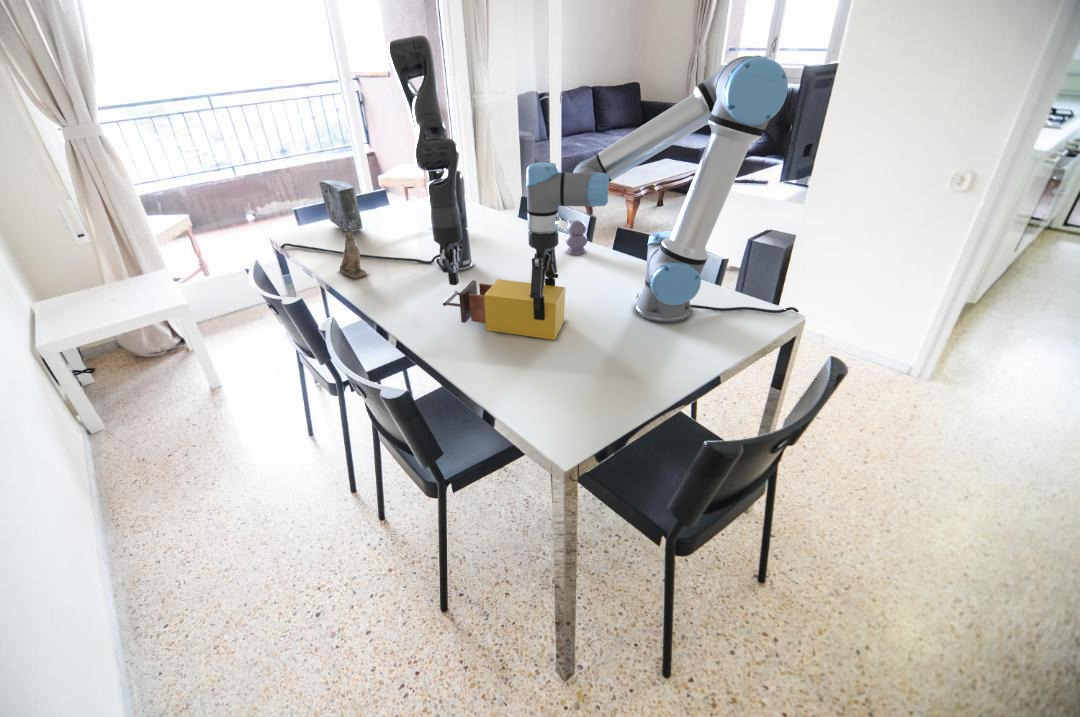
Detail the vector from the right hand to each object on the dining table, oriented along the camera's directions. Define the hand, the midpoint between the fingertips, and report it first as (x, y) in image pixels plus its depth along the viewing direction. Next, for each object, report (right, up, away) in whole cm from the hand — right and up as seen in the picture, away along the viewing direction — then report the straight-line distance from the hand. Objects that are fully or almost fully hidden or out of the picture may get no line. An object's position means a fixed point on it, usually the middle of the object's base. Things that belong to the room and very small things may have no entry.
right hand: (545, 309), depth 135 cm
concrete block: (-89, +45, +91) cm, 135 cm away
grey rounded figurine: (+13, +27, +55) cm, 63 cm away
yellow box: (-5, -4, +4) cm, 8 cm away
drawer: (-16, -2, +6) cm, 17 cm away
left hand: (-25, +7, +3) cm, 27 cm away
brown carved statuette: (-69, +17, +44) cm, 83 cm away
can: (-47, +46, +89) cm, 110 cm away
